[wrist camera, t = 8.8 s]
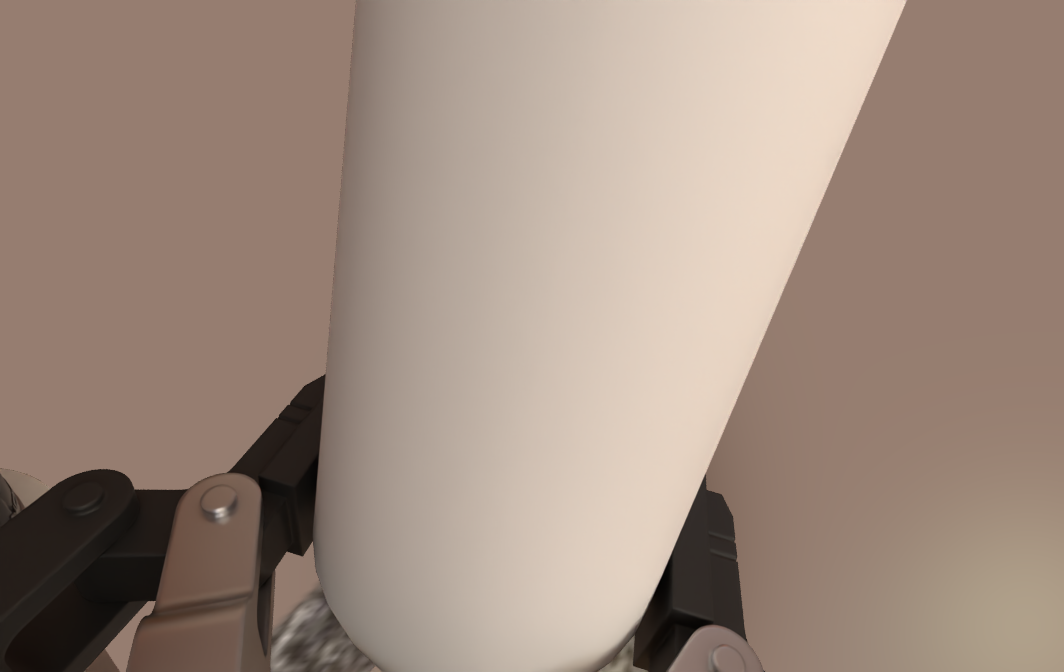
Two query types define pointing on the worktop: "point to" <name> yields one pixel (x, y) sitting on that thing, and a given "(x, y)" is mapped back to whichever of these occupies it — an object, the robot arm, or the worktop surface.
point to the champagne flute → (556, 301)
